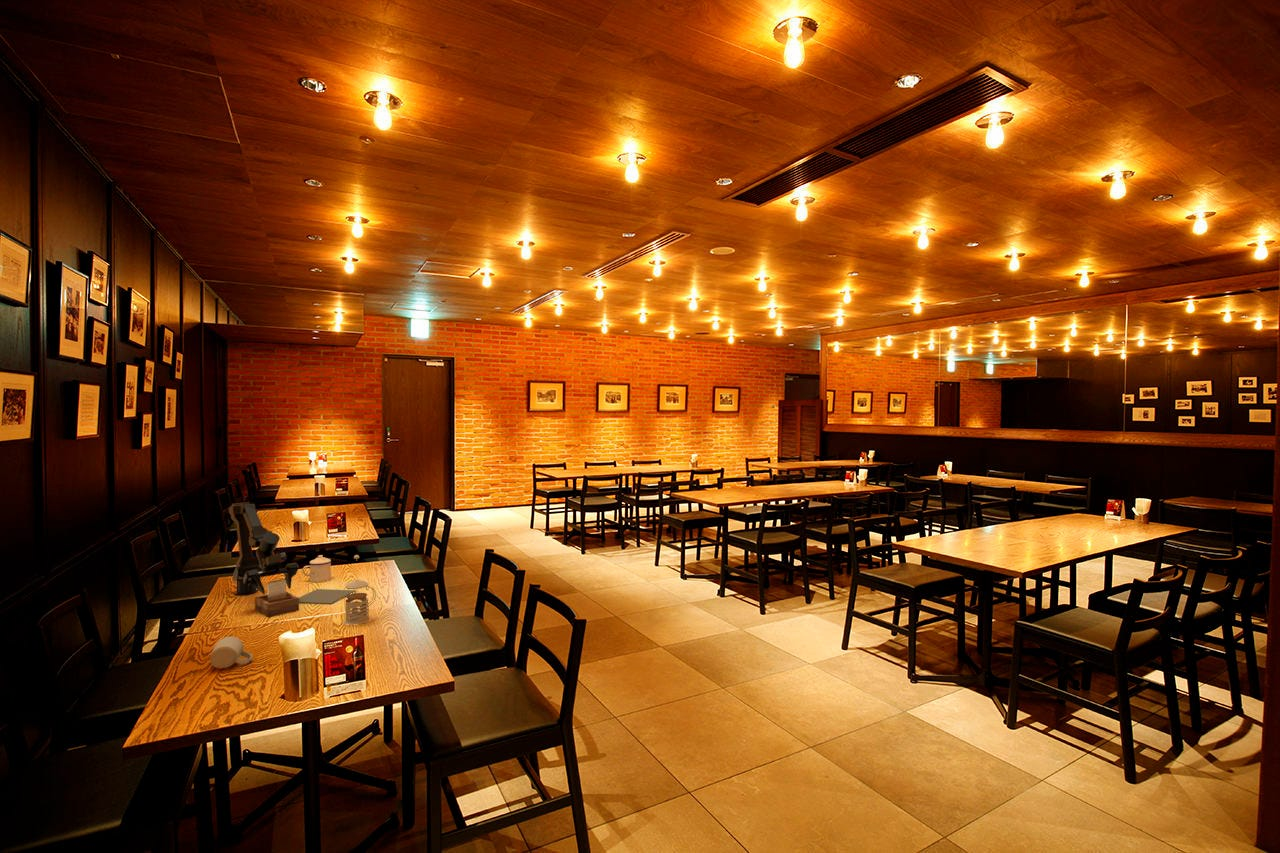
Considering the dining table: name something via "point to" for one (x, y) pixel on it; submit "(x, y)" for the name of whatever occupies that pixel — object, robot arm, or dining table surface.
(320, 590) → the rubber mat
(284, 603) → the slot box
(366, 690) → the dining table surface
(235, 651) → the ceramic mug
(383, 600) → the dining table surface
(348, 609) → the french press
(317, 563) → the teacup with lid
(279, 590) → the wooden block
